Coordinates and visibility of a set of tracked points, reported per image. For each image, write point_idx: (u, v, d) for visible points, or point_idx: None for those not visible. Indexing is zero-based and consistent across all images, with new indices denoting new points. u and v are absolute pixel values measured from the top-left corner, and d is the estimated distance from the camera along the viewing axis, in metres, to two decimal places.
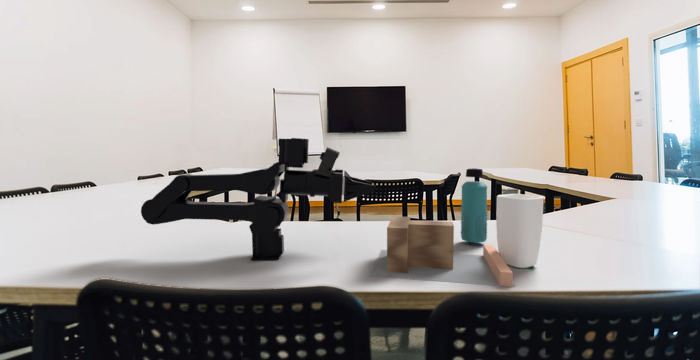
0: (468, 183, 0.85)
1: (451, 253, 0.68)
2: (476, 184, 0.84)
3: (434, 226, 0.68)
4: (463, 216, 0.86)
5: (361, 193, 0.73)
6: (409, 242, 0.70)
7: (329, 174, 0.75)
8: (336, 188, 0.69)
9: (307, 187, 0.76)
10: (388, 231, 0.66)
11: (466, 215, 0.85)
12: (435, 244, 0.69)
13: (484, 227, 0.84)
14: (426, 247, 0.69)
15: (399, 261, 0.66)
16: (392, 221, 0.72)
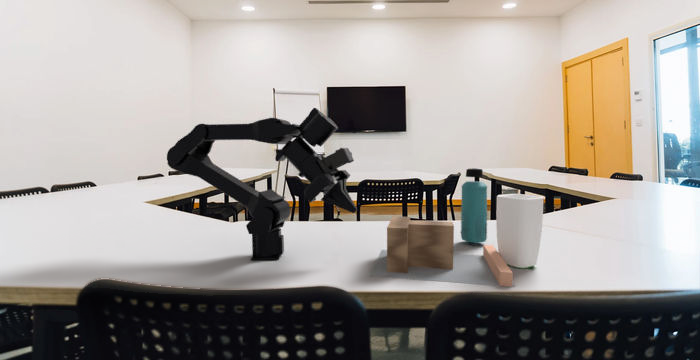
0: (468, 183, 0.85)
1: (451, 253, 0.68)
2: (476, 184, 0.84)
3: (434, 226, 0.68)
4: (463, 216, 0.86)
5: (340, 205, 0.73)
6: (409, 242, 0.70)
7: (326, 171, 0.72)
8: (315, 188, 0.66)
9: (301, 165, 0.73)
10: (388, 231, 0.66)
11: (466, 215, 0.85)
12: (435, 244, 0.69)
13: (484, 227, 0.84)
14: (426, 247, 0.69)
15: (399, 261, 0.66)
16: (392, 221, 0.72)
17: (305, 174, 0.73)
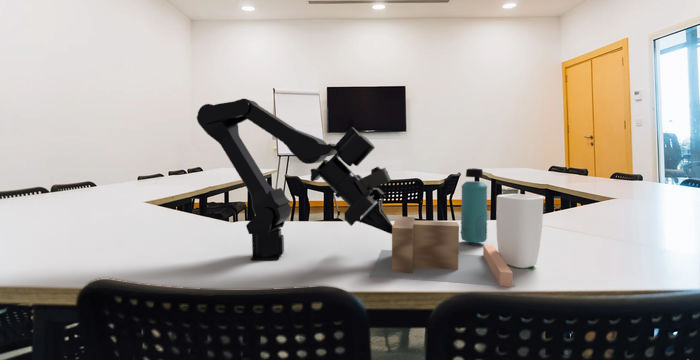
0: (468, 183, 0.85)
1: (456, 253, 0.68)
2: (476, 184, 0.84)
3: (439, 226, 0.68)
4: (463, 216, 0.86)
5: (378, 226, 0.72)
6: (414, 242, 0.70)
7: (365, 191, 0.70)
8: (357, 211, 0.64)
9: (338, 186, 0.71)
10: (393, 231, 0.66)
11: (466, 215, 0.85)
12: (440, 245, 0.68)
13: (484, 227, 0.84)
14: (431, 247, 0.69)
15: (404, 262, 0.66)
16: (397, 221, 0.72)
17: (342, 195, 0.72)
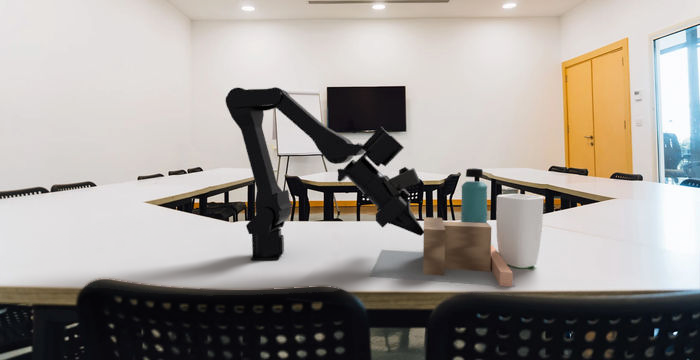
0: (468, 183, 0.85)
1: (488, 255, 0.66)
2: (476, 184, 0.84)
3: (471, 227, 0.67)
4: (463, 216, 0.86)
5: (407, 228, 0.70)
6: (444, 244, 0.68)
7: (394, 192, 0.69)
8: (389, 212, 0.63)
9: (367, 186, 0.70)
10: (425, 233, 0.65)
11: (466, 215, 0.85)
12: (472, 246, 0.67)
13: None
14: (462, 249, 0.67)
15: (436, 264, 0.65)
16: (426, 222, 0.71)
17: (370, 195, 0.70)
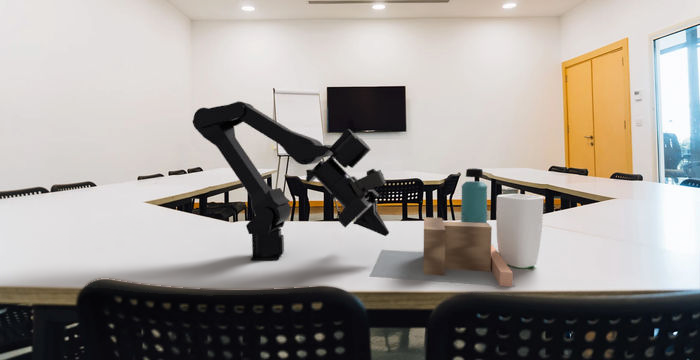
0: (468, 183, 0.85)
1: (488, 255, 0.66)
2: (476, 184, 0.84)
3: (471, 227, 0.67)
4: (463, 216, 0.86)
5: (372, 228, 0.72)
6: (445, 244, 0.68)
7: (359, 193, 0.70)
8: (351, 213, 0.64)
9: (333, 187, 0.72)
10: (425, 233, 0.65)
11: (466, 215, 0.85)
12: (472, 246, 0.67)
13: None
14: (462, 249, 0.67)
15: (436, 264, 0.65)
16: (426, 222, 0.71)
17: (337, 196, 0.72)
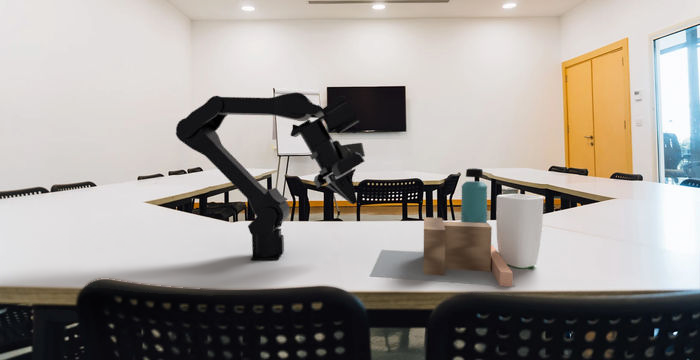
0: (468, 183, 0.85)
1: (488, 255, 0.66)
2: (476, 184, 0.84)
3: (471, 227, 0.67)
4: (463, 216, 0.86)
5: (346, 193, 0.75)
6: (445, 244, 0.68)
7: (345, 156, 0.75)
8: (351, 162, 0.68)
9: (322, 144, 0.74)
10: (425, 233, 0.65)
11: (466, 215, 0.85)
12: (472, 246, 0.67)
13: None
14: (462, 249, 0.67)
15: (436, 264, 0.65)
16: (426, 222, 0.71)
17: (322, 153, 0.74)
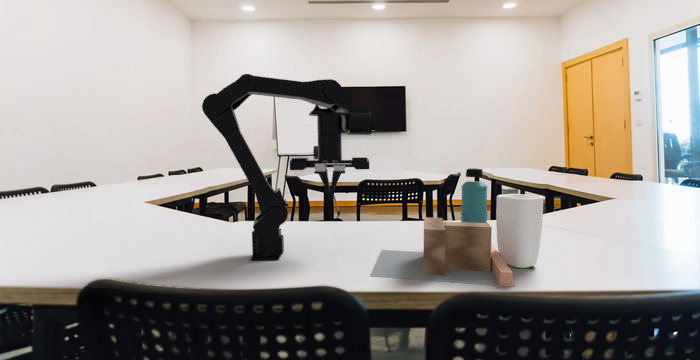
0: (468, 183, 0.85)
1: (488, 255, 0.66)
2: (476, 184, 0.84)
3: (471, 227, 0.67)
4: (463, 216, 0.86)
5: (335, 186, 0.81)
6: (445, 244, 0.68)
7: None
8: None
9: (340, 136, 0.80)
10: (425, 233, 0.65)
11: (466, 215, 0.85)
12: (472, 246, 0.67)
13: None
14: (462, 249, 0.67)
15: (436, 264, 0.65)
16: (426, 222, 0.71)
17: (339, 143, 0.79)
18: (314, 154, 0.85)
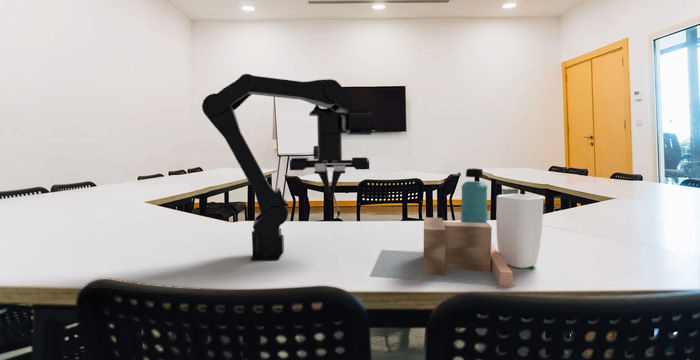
0: (468, 183, 0.85)
1: (488, 255, 0.66)
2: (476, 184, 0.84)
3: (471, 227, 0.67)
4: (463, 216, 0.86)
5: (335, 186, 0.81)
6: (445, 244, 0.68)
7: None
8: None
9: (340, 136, 0.80)
10: (425, 233, 0.65)
11: (466, 215, 0.85)
12: (472, 246, 0.67)
13: None
14: (462, 249, 0.67)
15: (436, 264, 0.65)
16: (426, 222, 0.71)
17: (339, 143, 0.79)
18: (314, 154, 0.85)
